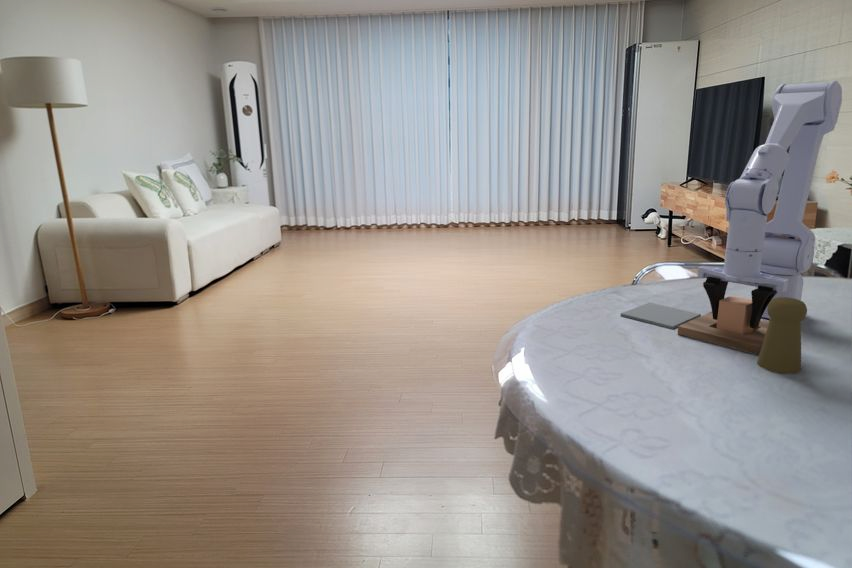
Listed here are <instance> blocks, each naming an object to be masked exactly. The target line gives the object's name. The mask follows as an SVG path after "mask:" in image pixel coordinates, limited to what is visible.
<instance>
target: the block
mask: <svg viewBox="0 0 852 568" xmlns="http://www.w3.org/2000/svg"><path fill="white" fill-rule="evenodd" d="M751 313H752V299H749V298H744V297H739V296H733V295H729V296H728V297H724V299H722V300H720V301H719V309H718V318H717V327H716V328H717V329H721V330H725V331H729V332H733V333H738V334H742V335H748V334H749V333H751V332H753V328H750V319H751Z"/></svg>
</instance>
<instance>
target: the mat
mask: <svg viewBox="0 0 852 568" xmlns="http://www.w3.org/2000/svg"><path fill="white" fill-rule="evenodd" d="M620 316H621V317H624V318H628V319H633V320H636V321H640V322H644V323H647V324H651V325H655V326H660V327H664V328H668V329H671V330H672V329H676V328H678V326H680V325H682V324H684V323H687V322H689V321H691V320H693V319H696V318H698V317H700V316H702V314H701V313H698V312H695V311H694V312H693V311H690V310H686V309H685V310H684V309H680V308H676V307H671V306H667V305H662V304H657V303H653V302H647V303H645V304H643V305H639V306H636V307H634V308H632V309H629V310H627V311H624V312H621V313H620Z"/></svg>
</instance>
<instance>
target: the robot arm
mask: <svg viewBox="0 0 852 568" xmlns="http://www.w3.org/2000/svg"><path fill="white" fill-rule="evenodd" d="M842 101H843V89H842V85H841V84H840V82H839V81H838V80H831V81H824V82H823V81H822V82H805V83H792V84H791V83H790V84H787V83H782V84H780V85H779V86H778V87H777V88H776V89H775V91H774V92H773V96H772V102H771V109H772V113H773V114H772V115H773V122H772V125H771V127H770V130H769V132H768V136H767V138H766V141H765V143H764V144H761V145H758V146H757V147H756V148H755V149H754V151H753V153H752V154H751V156H750V158H749V160H748V162H747V164H746V166H745V167H744V170H743V171H742V174H741V176H740V177H739V178H737V179H736V180H735V181H734V180H733V181H732V182H730V184H729V185H728V187H727V189H726V192H725V196H724V203H725V204H724V206H725V210H726V214H725V215H726V216H725V218H726V222H728V227H727V235H726V236H727V237H726V238H727V239H726V245H725V255H724V264H723V267H717V266H709V265H701V266H698V269H697V278H700V279H704V278H706V279H705V281H704V282H703V283H702V286H703V289H704V291H705V292H706V295H707V297H708V300H709V302H710V308H711V311H712V314H713V319H714V320H717V318H718V309H719V301H720V300H722V299H724V298H726V297H725V296H726V293H727V288H728V284H729V283H733V284H739V285H745V286H748V287H749V286H750V287H754V288H755V289H752V290H751V293H750V294H751V300H752V313H751V319H750V328H756V327H758V326H759V323H760V321H762V318H764V319H768V320H770V316H769V315H768V311H767V308H768V305H769V303H770V301H771V300H772V299H774V298H779V297H787V298H794V299H798V300H800V301H802V297H803V296H802V295H803V290H804V278H803V276H802V273H806V271H808V270H809V269H810V268H811V266H812V264H813V260H814V257H815V243H816V235H815V233H814V232H813V230H812V229H810V228H809V227H808V226H806V224H805V223H804V222H803V220H804V215H805V211H806V206H807V203H808V198H809V194H810V190H811V187H812V186H811V185H812V181H813V176H814V172H815V168H816V164H817V160H818V156H819V152H820V148H821V145H822V142H823V138H824V136H825V135H827V134H828V133H830V132H832V131H834V130H835V127H836V124H837V123H838V118H839V114H840V111H841V107H842ZM782 175H783V177H782ZM781 177H782V180H781ZM780 180H781V183H780V184H781V185H780V186H779V181H780ZM779 188H780V189H779ZM778 192H779V193H778ZM777 196H778V197H777ZM776 200H777V203H776ZM775 204H776V206H775ZM774 207H775V211H774V215H773V218H772V219H771V220H769V221H768V214H770V213H771V212H772V211H773V209H774ZM767 221H768V222H767ZM781 236H782V237H781ZM797 238H798V239H797Z"/></svg>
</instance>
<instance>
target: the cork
mask: <svg viewBox="0 0 852 568" xmlns="http://www.w3.org/2000/svg"><path fill="white" fill-rule="evenodd" d="M807 307H808V306H807V305H806V303H805V302H803V301H802V300H801V301H800V300H798V299H794V298H787V297H779V298H774V299H772V300H771V301H770V303H769V305H768V308H767V311H768V315H769V316H770V319H769V321H768V322H769V324H768V328H767V331H766V334H765V338H764V341H763V344H762V348H761V351H760V354H759V355H758V357H757V358H758V359H757V362H756V364H757V365H758V366H759V367H760V368H762V369H764V370H766V371H770V372H773V373H778V374H792V375H793V374H798V373H800V372H802V322H803V321H804V320H805V318H806V316H807V314H808V308H807Z"/></svg>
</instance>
